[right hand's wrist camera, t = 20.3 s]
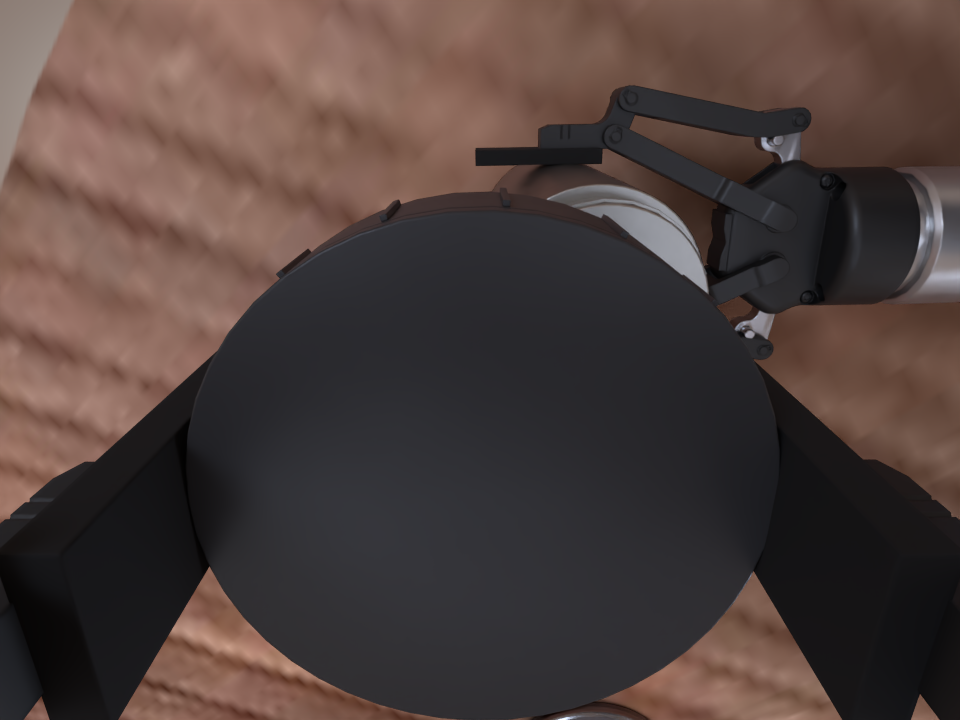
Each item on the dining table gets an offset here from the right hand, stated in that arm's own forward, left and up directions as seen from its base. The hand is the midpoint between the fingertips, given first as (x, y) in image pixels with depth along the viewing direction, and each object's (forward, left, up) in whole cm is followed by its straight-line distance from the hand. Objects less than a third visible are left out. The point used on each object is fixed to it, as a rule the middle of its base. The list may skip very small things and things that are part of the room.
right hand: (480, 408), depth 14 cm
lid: (0, 0, +3) cm, 3 cm away
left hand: (-1, 0, -23) cm, 23 cm away
